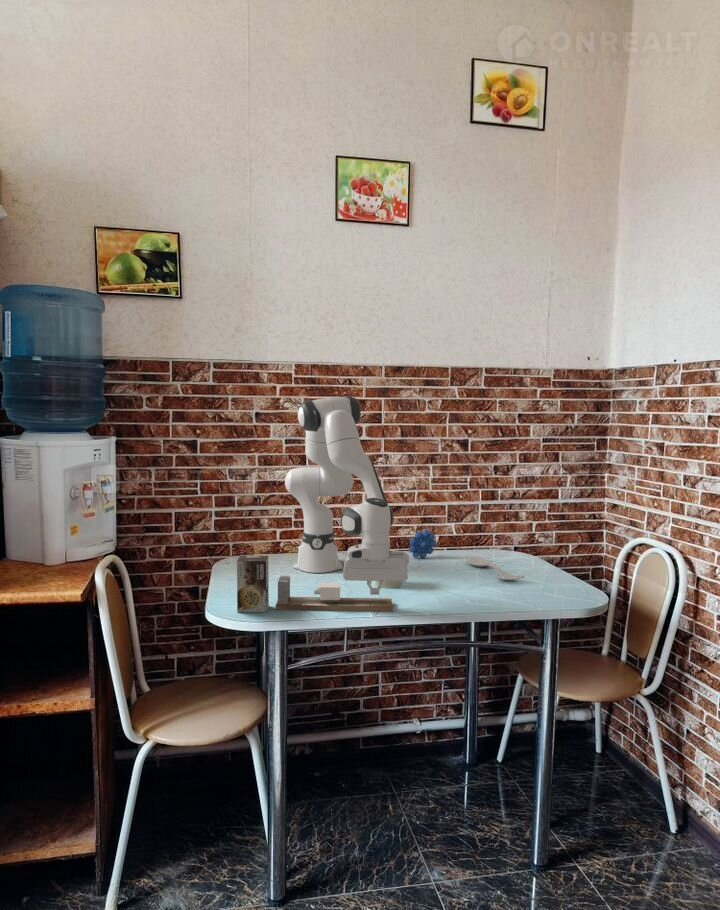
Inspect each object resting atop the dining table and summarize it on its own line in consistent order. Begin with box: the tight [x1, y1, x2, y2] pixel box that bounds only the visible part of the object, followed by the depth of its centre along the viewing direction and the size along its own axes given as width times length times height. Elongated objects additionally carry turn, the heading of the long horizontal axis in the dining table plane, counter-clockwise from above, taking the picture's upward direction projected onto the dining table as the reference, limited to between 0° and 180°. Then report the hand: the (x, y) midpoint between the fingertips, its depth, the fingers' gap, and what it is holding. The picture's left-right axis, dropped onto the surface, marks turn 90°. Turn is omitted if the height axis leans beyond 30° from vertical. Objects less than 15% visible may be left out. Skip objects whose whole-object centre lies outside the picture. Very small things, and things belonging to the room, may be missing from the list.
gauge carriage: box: [313, 582, 341, 604], centre depth 191 cm, size 7×8×4 cm
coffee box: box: [236, 555, 270, 613], centre depth 188 cm, size 9×6×16 cm
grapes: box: [408, 529, 437, 559], centre depth 254 cm, size 12×7×12 cm, turn 97°
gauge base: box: [275, 575, 394, 613], centre depth 192 cm, size 8×36×8 cm, turn 90°
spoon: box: [465, 555, 525, 581], centre depth 235 cm, size 9×32×4 cm, turn 18°
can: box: [374, 549, 402, 589], centre depth 216 cm, size 9×9×12 cm
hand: (374, 594), depth 192 cm, fingers closed
